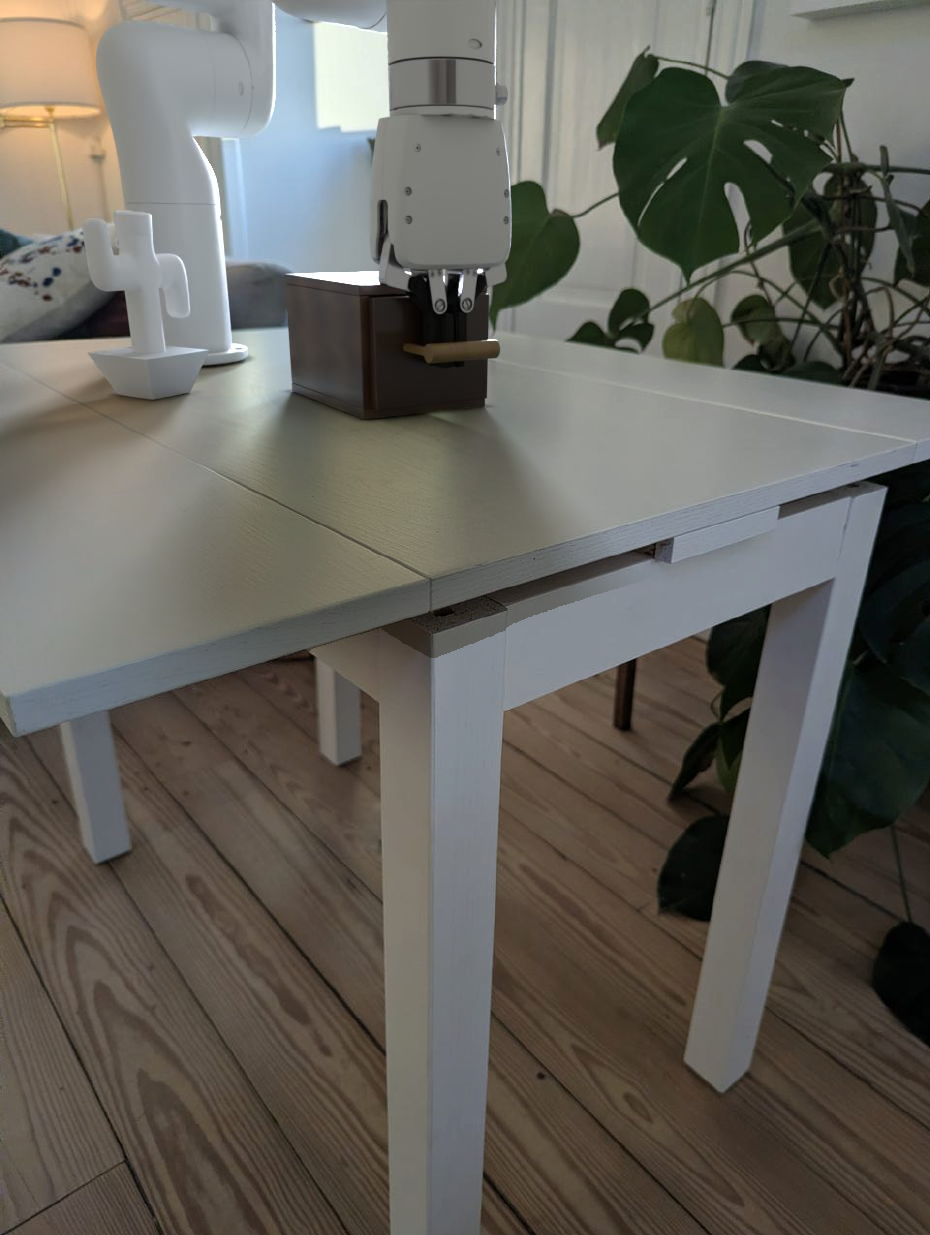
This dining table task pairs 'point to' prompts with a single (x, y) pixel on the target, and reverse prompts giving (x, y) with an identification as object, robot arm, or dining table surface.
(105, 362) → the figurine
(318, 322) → the cabinet
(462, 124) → the robot arm
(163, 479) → the dining table surface
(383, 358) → the drawer
